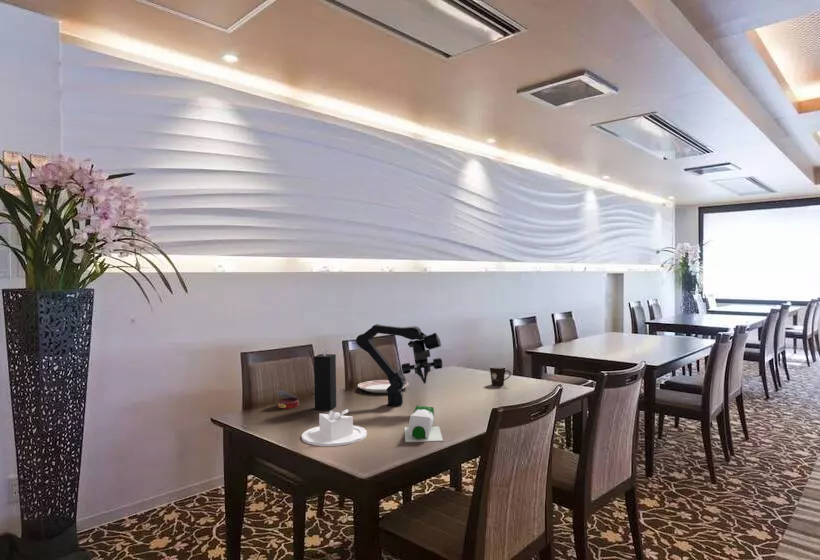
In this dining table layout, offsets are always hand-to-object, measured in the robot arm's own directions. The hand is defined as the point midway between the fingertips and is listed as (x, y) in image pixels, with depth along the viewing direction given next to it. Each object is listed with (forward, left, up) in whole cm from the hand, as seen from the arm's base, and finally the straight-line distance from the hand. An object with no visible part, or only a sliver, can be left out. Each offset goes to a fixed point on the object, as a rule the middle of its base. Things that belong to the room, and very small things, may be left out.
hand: (424, 383), depth 240 cm
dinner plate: (-28, +43, -13) cm, 53 cm away
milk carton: (+2, -22, -8) cm, 24 cm away
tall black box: (-47, +1, -13) cm, 49 cm away
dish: (-31, -39, -13) cm, 51 cm away
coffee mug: (+34, +58, -13) cm, 69 cm away
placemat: (+3, -34, -13) cm, 36 cm away
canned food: (-66, +3, -13) cm, 67 cm away
